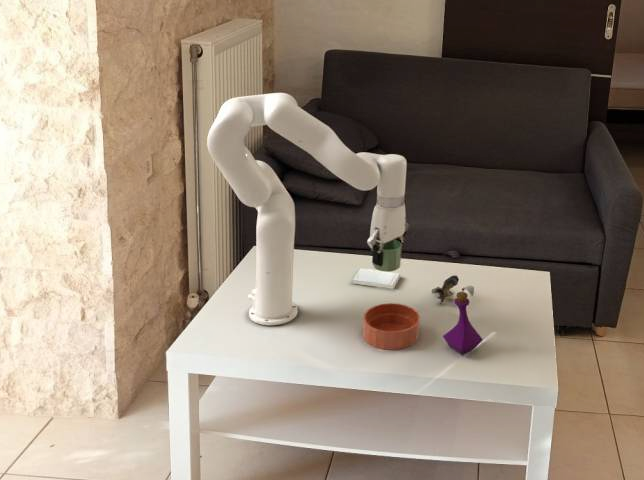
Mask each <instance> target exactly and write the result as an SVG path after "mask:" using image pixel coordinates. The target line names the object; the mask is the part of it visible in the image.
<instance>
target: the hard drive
mask: <svg viewBox="0 0 644 480" xmlns="http://www.w3.org/2000/svg"><path fill="white" fill-rule="evenodd" d="M400 278H401V273H397V272H392V271H390V272H384V271H379V270H377V269H371V268H363V267H360V269H358V271H357V273H356V275H355V276H354V277H353V279H352V284H353V285H360V286H361V285H362V286H368V287H375V288H378V287H379V288H387V289H395V287H396V285H397V283H398V282H399V280H400Z"/></svg>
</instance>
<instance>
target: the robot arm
mask: <svg viewBox="0 0 644 480" xmlns="http://www.w3.org/2000/svg"><path fill="white" fill-rule="evenodd" d="M261 126H267V127H268V128H270V130H272V131H273V132H274V133H276V134H278V135H280V136H281V137H283V138H284V139H286V140H287V141H289V142H290V143H293V145H295V146H297V147H298V148H300V149H302V150H303V151H304V152H306V153H308V154H309V155H311V156H312V157H313V159H315V160H316V161H317V162H318V163H320V164H321V165H322V166H323V167H325V168H326V169H327V170H328V171H329V172H331V173H332V174H333V175H335V176H336V177H337V178H339V179H340V180H342V181H343V182H345V183H347V184H348V185H349V186H351V187H353V188H355V189H357V190H359V191H363V192H364V191H370V190H371V191H372V190H373V189H375V188H376V202H375V203H376V205H375V206H374V208H373V211H372V216H371V220H370V221H371V222H370V230H369V238H368V239H367V241H366V243H367V245H368V247H369V249H370V250H371V251H372V258H371V259H372V260H371V262H372V265H373V264H376V265H378V266H382V264H383V252H382V249H383V246H384V244H385V243H387V242H389V241H391V240H393V239H395V240H397V241H400V242H401V244H402V245H403V243H404V242H405V236H406V235H407V231H408V229H409V227H410V224H409V223H407V222H406V221H407V219H406V205H405V199H406V197H405V195H406V181H407V166H408V165H407V163H408V162H407V159H406V158H405V156H403V155H401V154H396V153H395V154H394V153H390V154H388V153H387V154H377V153H372V152H366V151H364V152H362V151H361V152H358V153H355V152H354V151H352V150H351V149H350V148H349V147H348V146H346V145H345V143H343V141H342V140H341V139H340V138H339V136H338V135H337V134H336V132H335V131H334V130H333V129H332V128H331V127H330V126H329V125H327V124H325V123H324V122H322V121H321V120H319V119H318V118H316V117H315V116H313V115H311V114H310V113H309V112H307V111H306V110H304V109H302V107H300V106H299V105H298V102H297V100H296V99H295V98H294V97H293V96H292V94H289V93H286V92H271V93H262V94H254V95H244V96H237V97H232V98H229V99H228V100H226V101H225V102H224V103H223V104H222V105H221V106H220V109H219V111H218V113H217V116H216V118H215V120H214V121H213V123H212V124H211V127H210V128H209V130H208V134H207V138H206V146H207V150H208V153H209V155H210V157H211V159H212V161H213V162H214V163H215V165H216V166H217V168H218V169H219V171H220V172H221V174H222V175H223V177H224V179H225V180H226V182H227V183H228V184H229V186H230V187H231V189H232V191H233V192H234V193H235V195H236V197H237V198H238V200H239V201H240V203H242V204H243V205H245V206H247V207H250V208H255V209H256V211H257V218H256V229H255V231H256V232H255V233H256V234H255V235H256V237H255V238H256V241H255V243H256V247H255V249H256V252H255V253H256V254H255V255H256V256H255V267H256V268H255V287H254V288H253V289H252V290H251V293H249V294H248V296H247V299H248V300H251V301H252V306H251V307H250V308H249V311H248V317H249V319H250V320H251V321H252V322H254V323H255V324H258V325H261V326H279V325H283V324H286V323H289V322H291V321H292V320H294V319H295V318H296V317H297V315H298V310H299V309H298V306H297V304H296V303H294V302H293V287H294V286H293V283H294V258H295V257H294V254H295V251H294V250H295V234H296V209H295V208H296V207H295V202H294V199H293V198H292V196H291V194H290V193H289V192H288V191H287V190H288V189H286V187H285V186H284V184H283V182H282V181H281V179H280V178H279V176H278V175H277V173H276V172H275V171H274V169H273V168H272V167H271V166H270V165H269V164H268V163H266V162H265V161H263V160H258V159H255V158H254V155H253V154H252V152H251V151H250V149H249V148H248V147H247V146H246V145H245V143H244V142H245V141H244V140H245V137H246V136H247V135H248V134H249V132H250V130H251V128H252V127H261ZM380 239H381V241H380ZM378 242H379V243H380V246H379V247H378V246H377V244H378ZM402 256H403V251H402V252H401V257H402Z"/></svg>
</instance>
